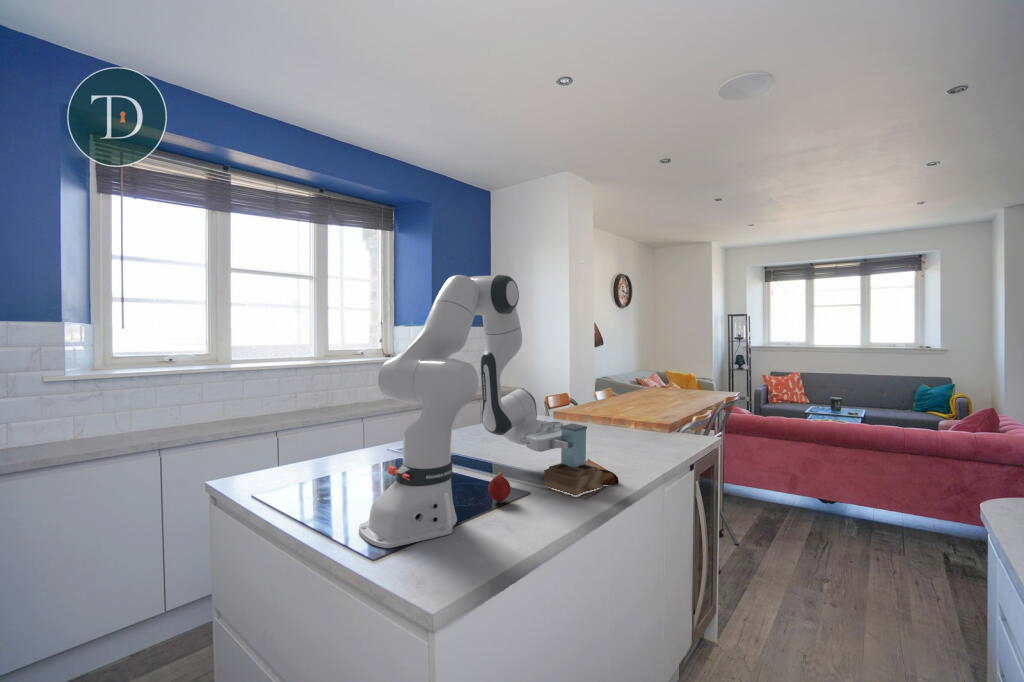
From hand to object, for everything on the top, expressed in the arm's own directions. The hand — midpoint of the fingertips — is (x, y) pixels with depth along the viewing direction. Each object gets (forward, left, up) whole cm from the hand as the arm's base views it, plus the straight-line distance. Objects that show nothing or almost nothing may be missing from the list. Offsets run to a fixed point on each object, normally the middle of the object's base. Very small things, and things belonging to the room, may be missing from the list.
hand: (576, 443), depth 136 cm
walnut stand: (0, +1, -13) cm, 13 cm away
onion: (-24, +6, -13) cm, 28 cm away
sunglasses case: (+12, +3, -14) cm, 19 cm away
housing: (0, +1, -6) cm, 6 cm away
